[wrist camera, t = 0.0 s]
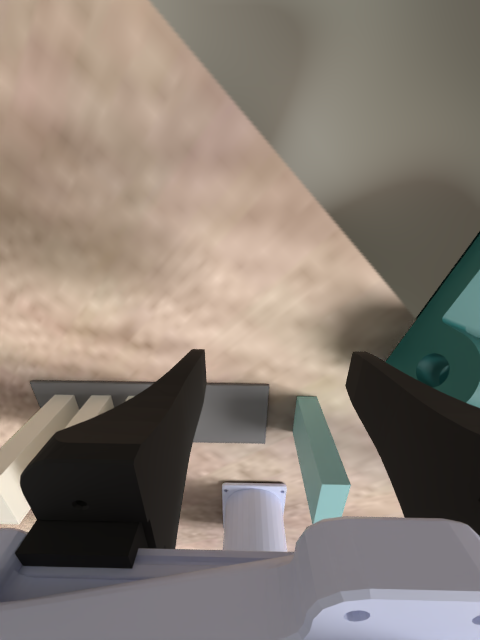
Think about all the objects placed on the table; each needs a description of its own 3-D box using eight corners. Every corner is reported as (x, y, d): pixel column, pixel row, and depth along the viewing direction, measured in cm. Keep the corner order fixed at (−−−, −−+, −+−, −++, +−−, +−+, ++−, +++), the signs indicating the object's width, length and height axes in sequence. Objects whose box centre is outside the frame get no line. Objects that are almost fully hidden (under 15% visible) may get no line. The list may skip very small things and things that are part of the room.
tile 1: (310, 432, 28) (338, 526, 19) (292, 431, 28) (312, 525, 19) (316, 396, 26) (350, 485, 17) (297, 396, 26) (322, 484, 17)
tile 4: (120, 431, 28) (67, 525, 19) (102, 430, 28) (42, 524, 19) (110, 395, 26) (47, 483, 17) (91, 395, 26) (19, 483, 17)
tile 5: (86, 430, 28) (19, 524, 19) (68, 430, 28) (-7, 523, 19) (74, 394, 26) (-7, 482, 17) (54, 394, 26) (-35, 482, 17)
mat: (264, 441, 28) (265, 443, 28) (55, 437, 29) (53, 439, 28) (268, 384, 25) (268, 386, 25) (32, 380, 25) (29, 382, 25)
